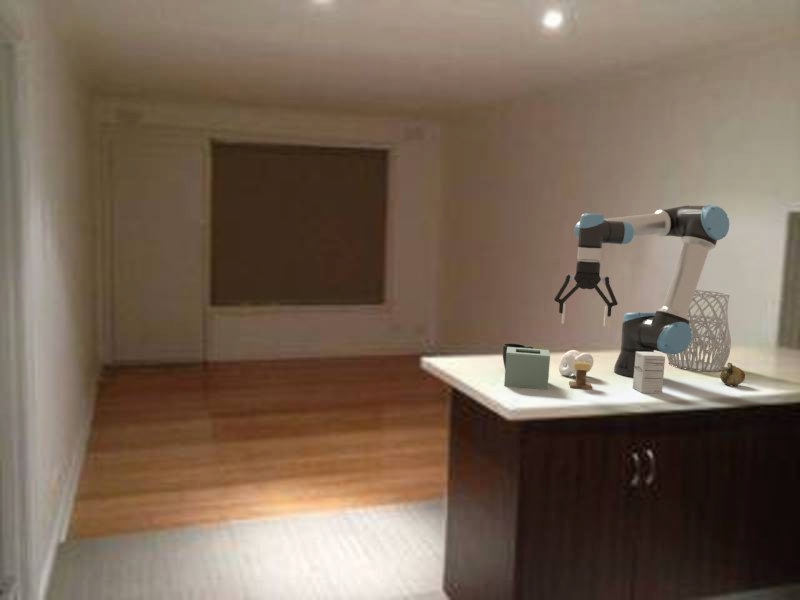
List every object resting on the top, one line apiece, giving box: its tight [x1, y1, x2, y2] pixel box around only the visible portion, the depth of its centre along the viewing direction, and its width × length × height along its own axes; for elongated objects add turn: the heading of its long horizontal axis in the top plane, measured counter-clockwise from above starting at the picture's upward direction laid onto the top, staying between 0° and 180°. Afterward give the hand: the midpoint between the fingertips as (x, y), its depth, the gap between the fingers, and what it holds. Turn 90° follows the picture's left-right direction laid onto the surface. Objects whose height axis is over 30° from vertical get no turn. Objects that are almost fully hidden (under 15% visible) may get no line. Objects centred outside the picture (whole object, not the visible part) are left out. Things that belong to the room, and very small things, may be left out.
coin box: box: [503, 347, 551, 390], centre depth 250 cm, size 14×12×11 cm
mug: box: [502, 343, 534, 368], centre depth 271 cm, size 8×12×10 cm
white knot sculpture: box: [558, 349, 594, 377], centre depth 266 cm, size 11×12×9 cm
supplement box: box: [632, 351, 666, 395], centre depth 248 cm, size 7×7×13 cm
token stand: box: [568, 370, 593, 390], centre depth 250 cm, size 7×7×6 cm
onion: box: [719, 362, 746, 386], centre depth 265 cm, size 8×8×8 cm
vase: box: [666, 289, 732, 372], centre depth 298 cm, size 24×24×30 cm
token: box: [574, 361, 591, 372], centre depth 250 cm, size 5×5×2 cm
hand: (583, 324), depth 249 cm, fingers open, 13 cm apart
